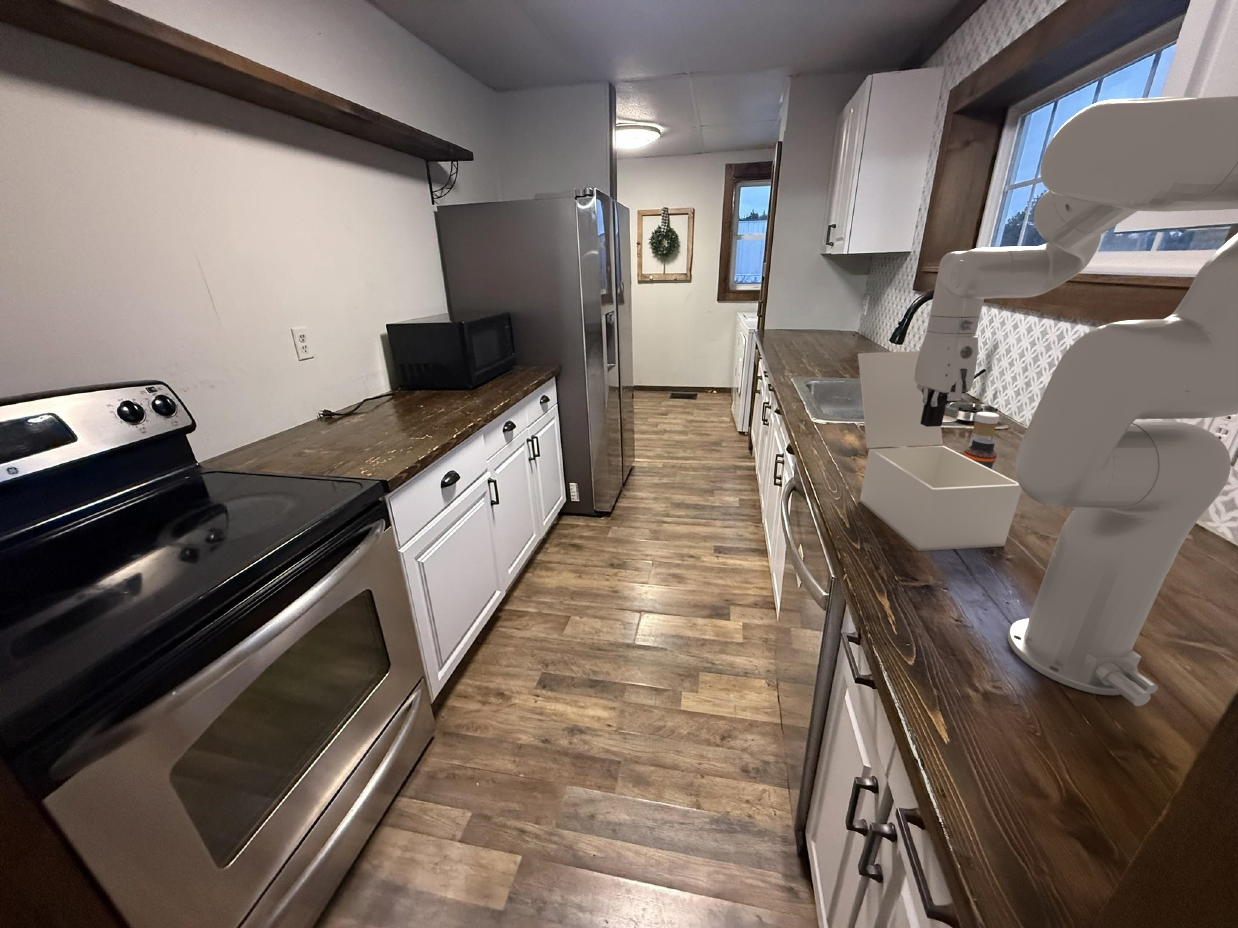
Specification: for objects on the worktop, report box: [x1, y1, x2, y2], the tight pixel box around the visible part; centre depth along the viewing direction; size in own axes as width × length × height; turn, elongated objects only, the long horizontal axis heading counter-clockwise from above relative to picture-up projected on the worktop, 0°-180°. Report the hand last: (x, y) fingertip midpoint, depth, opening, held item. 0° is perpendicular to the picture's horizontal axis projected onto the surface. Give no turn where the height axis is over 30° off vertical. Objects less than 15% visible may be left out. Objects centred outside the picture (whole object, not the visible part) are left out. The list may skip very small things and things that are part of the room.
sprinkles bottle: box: [967, 411, 1000, 447], centre depth 120 cm, size 5×5×14 cm
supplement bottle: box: [962, 438, 998, 470], centre depth 109 cm, size 6×6×11 cm
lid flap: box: [857, 350, 944, 449], centre depth 103 cm, size 20×16×1 cm
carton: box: [859, 445, 1023, 552], centre depth 95 cm, size 20×16×12 cm
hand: (930, 425), depth 94 cm, fingers closed
